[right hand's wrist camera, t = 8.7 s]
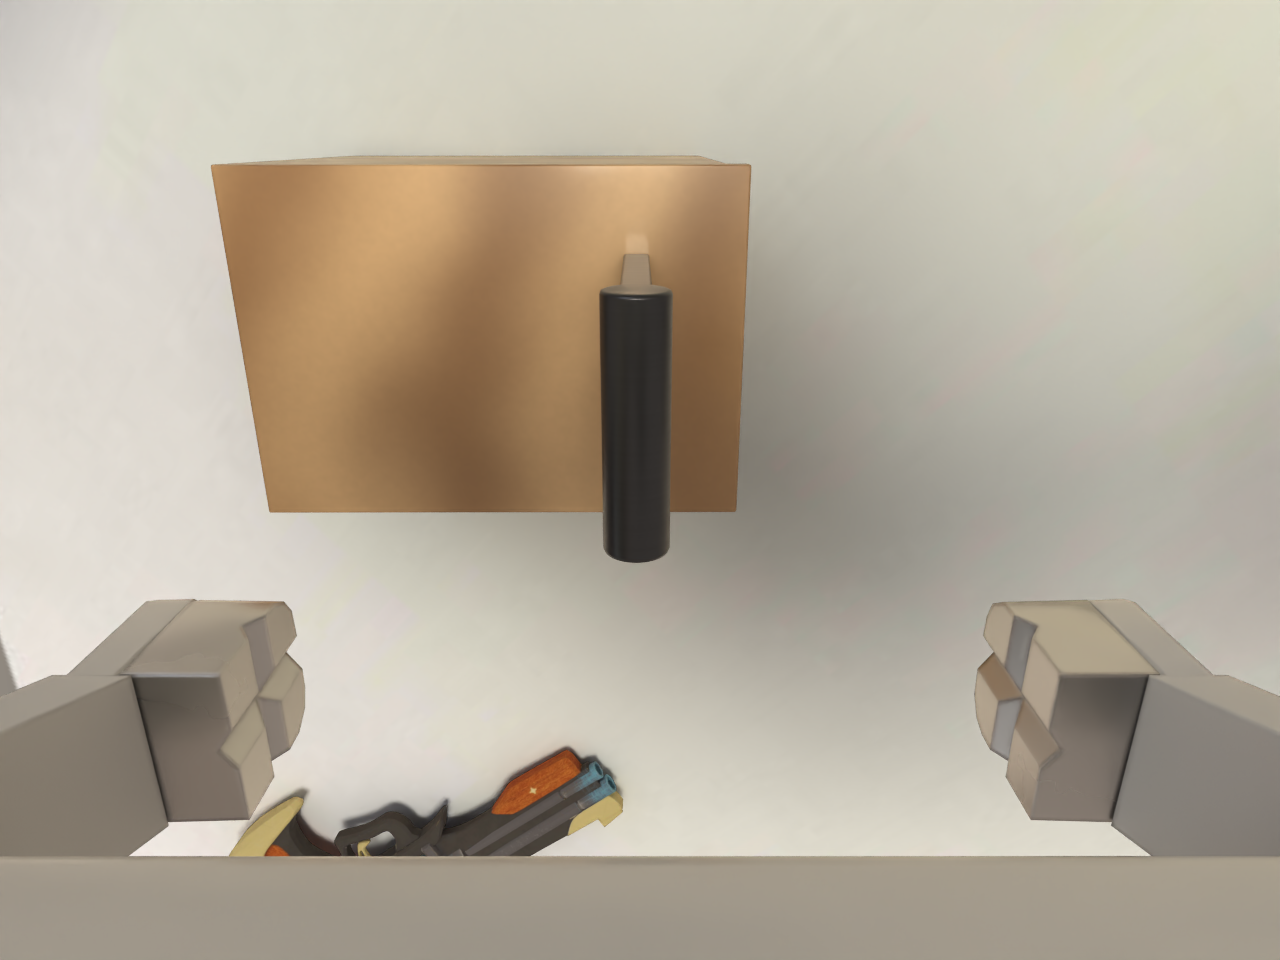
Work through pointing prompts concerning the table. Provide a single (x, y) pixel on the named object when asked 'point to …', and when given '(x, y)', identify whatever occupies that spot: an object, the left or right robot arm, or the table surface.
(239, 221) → the lid
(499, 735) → the table surface
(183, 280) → the table surface
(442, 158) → the chest
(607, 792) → the toy gun
